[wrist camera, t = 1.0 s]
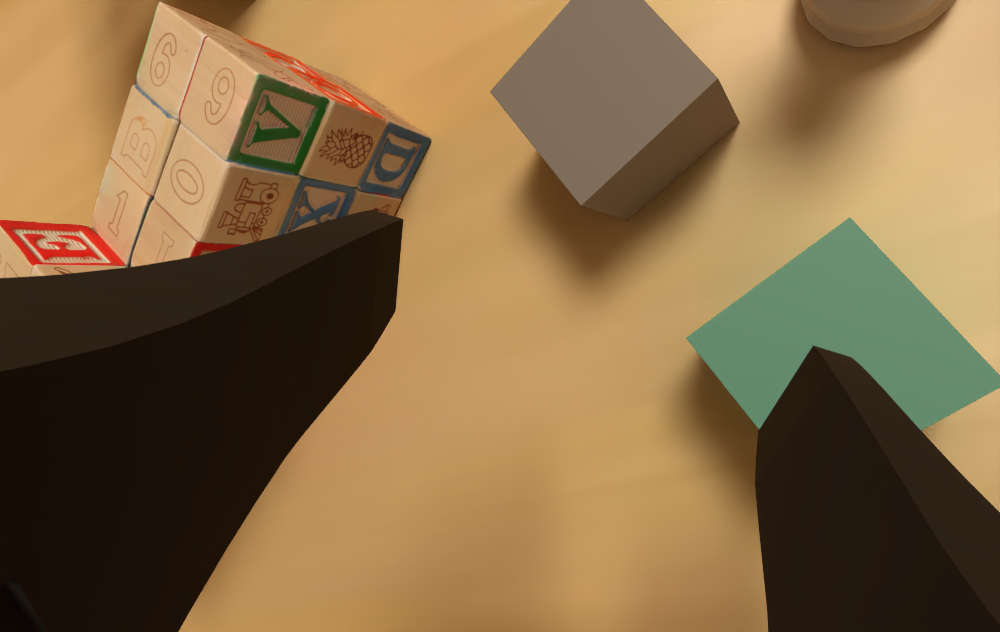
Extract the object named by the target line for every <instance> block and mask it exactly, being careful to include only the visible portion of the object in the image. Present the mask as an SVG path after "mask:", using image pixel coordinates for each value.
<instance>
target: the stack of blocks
mask: <svg viewBox="0 0 1000 632" xmlns="http://www.w3.org/2000/svg"><path fill="white" fill-rule="evenodd" d="M430 141H431V138H430V137H429V136H427V135H426V134H424V133H423V132H421V131H420V130H418V129H417V128H415V127H414V126H412V125H411V124H409V123H408V122H407V121H405V120H404V119H402V118H401V117H399V116H398V115H396V114H395V113H393V112H392V111H391V110H389V109H387V108H386V107H385V106H384V105H382V104H381V103H380V102H378V101H377V100H376V99H374V98H373V97H371V96H370V95H368V94H367V93H365V92H364V91H362V90H361V89H359V88H358V87H356V86H354V85H353V84H351V83H349V82H347V81H345V80H343V79H341V78H339V77H337V76H335V75H332V74H330V73H327V72H325V71H322V70H319V69H317V68H314V67H312V66H309V65H306V64H303V63H301V62H300V61H299V60H297V59H295V58H293V57H290V56H287V55H285V54H283V53H280V52H278V51H275V50H272V49H270V48H267V47H265V46H263V45H260V44H258V43H255V42H253V41H250V40H247V39H244V38H241V37H240V36H238V35H237V34H235V33H233V32H231V31H229V30H226V29H224V28H222V27H219V26H217V25H214V24H212V23H210V22H207V21H205V20H203V19H200V18H198V17H196V16H194V15H191V14H189V13H187V12H184V11H182V10H179V9H177V8H175V7H172V6H170V5H167V4H165V3H162V2H159V3H158V6H157V8H156V11H155V15H154V19H153V23H152V26H151V29H150V32H149V35H148V39H147V42H146V46H145V49H144V52H143V56H142V59H141V62H140V65H139V68H138V71H137V83H136V84H134V85H133V86H132V87H131V89H130V93H129V96H128V99H127V102H126V106H125V109H124V112H123V116H122V119H121V122H120V125H119V129H118V132H117V135H116V138H115V141H114V145H113V148H112V153H111V159H110V160H109V162H108V164H107V166H106V170H105V173H104V177H103V180H102V184H101V187H100V191H99V194H98V198H97V201H96V205H95V208H94V211H93V226H94V227H93V228H89V227H87V226H83V225H73V224H51V223H37V222H24V221H9V220H0V278H13V277H30V276H47V275H60V274H70V273H79V272H89V271H98V270H107V269H117V268H126V267H134V266H141V265H148V264H154V263H160V262H166V261H172V260H178V259H183V258H188V257H193V256H198V255H203V254H208V253H212V252H217V251H221V250H225V249H229V248H233V247H237V246H240V245H244V244H248V243H252V242H256V241H260V240H264V239H268V238H272V237H275V236H279V235H282V234H286V233H289V232H292V231H296V230H299V229H302V228H306V227H309V226H313V225H316V224H319V223H323V222H326V221H329V220H333V219H336V218H339V217H343V216H346V215H350V214H354V213H358V212H362V211H367V210H375V211H378V212H381V213H385V214H388V215H391V216H394V214H395V212H396V210H397V208H398V206H399V204H400V202H401V199H402V197H403V195H404V194H405V192H406V190H407V188H408V186H409V184H410V182H411V180H412V178H413V176H414V174H415V172H416V170H417V168H418V166H419V164H420V162H421V160H422V158H423V156H424V153H425V152H426V150H427V148H428V146H429V143H430Z"/></svg>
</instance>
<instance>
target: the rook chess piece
mask: <svg viewBox="0 0 1000 632" xmlns="http://www.w3.org/2000/svg"><path fill="white" fill-rule="evenodd" d="M800 1H801V4H802V7H803V9H804V12H805V15H806V18H807V20H808V22H809V23H810V24H811V25H812V26H813V27H815V28H816V29H817V30H818V31H819V32H820V33H821V34H823V35H824V36H825V37H826V38H827V39H828V40H832V41H835V42H839V43H843V44H846V45H850V46H854V47H866V46H875V45H885V44H892V43H894V42H896V41H899V40H901V39H903V38H905V37H907V36H910V35H912V34H914V33H916V32H919V31H921V30H923V29H925V28H926V27H928V26H929V25H930V24H931V23H932V22H933V21H934V20H936V19H937V18H938V17H939V16H940V15H941V14H942V13H943V12H945V11H946V10H947V9H948V8H949V7H950V6H951V5H953V4H954V3H955V1H956V0H800Z"/></svg>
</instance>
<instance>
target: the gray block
mask: <svg viewBox="0 0 1000 632" xmlns="http://www.w3.org/2000/svg"><path fill="white" fill-rule="evenodd" d="M490 92H491V94H492V95H493V96H494V97H495V99H496V100H497V101H498V102H499V104H500V105H501V106H502V107H503V109H504V110H505V111H506V113H507V114H508V115H509V116H510V118H511V119H512V120H513V121H514V123H515V124H516V125H517V126H518V128H519V129H520V130H521V131H522V133H523V134H524V135H525V136H526V138H527V139H528V140H529V141H530V143H531V144H532V145H533V146H534V148H535V149H536V150H537V151H538V153H539V154H540V155H541V156H542V158H543V159H544V160H545V162H546V163H547V164H548V165H549V167H550V168H551V169H552V170H553V172H554V173H555V174H556V175H557V177H558V178H559V179H560V180H561V182H562V183H563V184H564V185H565V187H566V188H567V189H568V190H569V192H570V193H571V194H572V195H573V197H574V198H575V199H576V200H577V202H578V203H579V204H580V205H581V206H583V207H586V208H589V209H592V210H595V211H598V212H601V213H604V214H607V215H610V216H613V217H616V218H620V219H623V220H626V221H628V220H629V219H630V218H631V217H632V216H634V215H635V214H636V213H637V212H638V211H639V210H640V209H642V208H643V207H644V206H645V205H646V204H647V203H648V202H650V201H651V200H652V199H653V198H654V197H655V196H656V195H658V194H659V193H660V192H661V191H662V190H663V189H664V188H665V187H667V186H668V185H669V184H670V183H671V182H672V181H673V180H675V179H676V178H677V177H678V176H679V175H680V174H681V173H683V172H684V171H685V170H686V169H687V168H688V167H689V166H691V165H692V164H693V163H694V162H695V161H696V160H697V159H699V158H700V157H701V156H702V155H703V154H704V153H705V152H706V151H708V150H709V149H710V148H711V147H712V146H713V145H714V144H716V143H717V142H718V141H719V140H720V139H721V138H722V137H724V136H725V135H726V134H727V133H728V132H729V131H730V130H732V129H733V128H734V127H735V126H736V125H737V124H738V123H739V120H738V118H737V116H736V114H735V112H734V110H733V108H732V106H731V104H730V102H729V100H728V98H727V96H726V94H725V92H724V90H723V88H722V86H721V84H720V82H719V79H718V78H717V77H716V76H715V75H714V74H713V73H712V72H711V70H710V69H709V68H708V67H707V66H706V65H705V64H704V63H703V62H702V61H701V60H700V59H699V58H698V57H697V56H696V55H695V54H694V53H693V52H692V50H691V49H690V48H689V47H688V46H687V45H686V44H685V43H684V42H683V41H682V40H681V39H680V38H679V37H678V36H677V35H676V34H675V33H674V31H673V30H672V29H671V28H670V27H669V26H668V25H667V24H666V23H665V22H664V21H663V20H662V19H661V18H660V17H659V16H658V15H657V14H656V12H655V11H654V10H653V9H652V8H651V7H650V6H649V5H648V4H647V3H646V2H645V1H644V0H570V2H569V3H568V4H567V5H566V6H565V7H564V8H563V10H562V11H561V12H560V13H559V14H558V15H557V16H556V17H555V19H554V20H553V21H552V22H551V23H550V24H549V25H548V27H547V28H546V29H545V30H544V31H543V32H542V33H541V34H540V36H539V37H538V38H537V39H536V40H535V41H534V42H533V44H532V45H531V46H530V47H529V48H528V49H527V50H526V51H525V53H524V54H523V55H522V56H521V57H520V58H519V59H518V61H517V62H516V63H515V64H514V65H513V66H512V67H511V68H510V70H509V71H508V72H507V73H506V74H505V75H504V76H503V77H502V79H501V80H500V81H499V82H498V83H497V84H496V85H495V87H494V88H493V89H492V90H491V91H490Z"/></svg>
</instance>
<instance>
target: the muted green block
mask: <svg viewBox="0 0 1000 632" xmlns="http://www.w3.org/2000/svg"><path fill="white" fill-rule="evenodd" d="M686 339H687V340H688V341H689V342H690V344H691V345H692V346H693V347H694V349H695V350H696V351H697V352H698V354H699V355H700V356H701V357H702V359H703V360H704V361H705V362H706V364H707V365H708V366H709V367H710V369H711V370H712V371H713V372H714V374H715V375H716V376H717V377H718V379H719V380H720V381H721V382H722V384H723V385H724V386H725V388H726V389H727V390H728V391H729V393H730V394H731V395H732V396H733V398H734V399H735V400H736V401H737V403H738V404H739V405H740V406H741V408H742V409H743V410H744V411H745V413H746V414H747V415H748V416H749V418H750V419H751V420H752V421H753V423H754V424H755V425H756V426H757V428H758V429H760V428H761V426H762V425H763V423H764V421H765V420H766V418H767V417H768V415H769V414H770V412H771V410H772V409H773V407H774V406H775V404H776V403H777V401H778V400H779V398H780V396H781V395H782V393H783V392H784V390H785V389H786V387H787V385H788V384H789V382H790V381H791V379H792V378H793V376H794V374H795V373H796V371H797V370H798V368H799V367H800V365H801V363H802V362H803V360H804V359H805V357H806V356H807V354H808V353H809V351H810V349H811V348H812V346H817V347H820V348H823V349H826V350H830V351H833V352H836V353H839V354H843V355H846V356H849V357H852V358H853V359H854V360H855V361H857V362H858V363H859V364H860V365H861V366H862V367H863V368H864V369H865V370H866V371H867V372H868V373H869V374H870V375H871V376H872V377H873V378H874V379H875V380H876V381H877V383H878V384H879V385H880V386H881V387H882V388H883V389H884V390H885V391H886V392H887V393H888V395H889V396H890V397H891V398H892V399H893V400H894V401H895V402H896V403H897V405H898V406H899V407H900V408H901V409H902V410H903V411H904V412H905V413H906V415H907V416H908V417H909V418H910V419H911V420H912V421H913V422H914V423H915V425H916V426H917V427H918V428H919V429H920V430H923V429H925V428H927V427H929V426H930V425H932V424H934V423H936V422H938V421H940V420H941V419H943V418H945V417H947V416H949V415H951V414H952V413H954V412H956V411H958V410H960V409H961V408H963V407H965V406H967V405H969V404H971V403H972V402H974V401H976V400H978V399H980V398H982V397H983V396H985V395H987V394H989V393H991V392H993V391H994V390H996V389H998V388H1000V375H999V374H998V373H997V372H996V371H995V370H994V369H993V368H992V367H991V366H990V365H989V364H988V363H987V362H986V360H985V359H984V358H983V357H982V356H981V355H980V354H979V353H978V352H977V351H976V350H975V349H974V348H973V347H972V346H971V345H970V344H969V343H968V341H967V340H966V339H965V338H964V337H963V336H962V335H961V334H960V333H959V332H958V331H957V330H956V329H955V328H954V327H953V326H952V325H951V324H950V322H949V321H948V320H947V319H946V318H945V317H944V316H943V315H942V314H941V313H940V312H939V311H938V310H937V309H936V308H935V307H934V306H933V305H932V303H931V302H930V301H929V300H928V299H927V298H926V297H925V296H924V295H923V294H922V293H921V292H920V291H919V290H918V289H917V288H916V287H915V286H914V284H913V283H912V282H911V281H910V280H909V279H908V278H907V277H906V276H905V275H904V274H903V273H902V272H901V271H900V270H899V269H898V268H897V267H896V266H895V264H894V263H893V262H892V261H891V260H890V259H889V258H888V257H887V256H886V255H885V254H884V253H883V252H882V251H881V250H880V249H879V248H878V247H877V245H876V244H875V243H874V242H873V241H872V240H871V239H870V238H869V237H868V236H867V235H866V234H865V233H864V232H863V231H862V230H861V229H860V228H859V226H858V225H857V224H856V223H855V222H854V221H853V220H852V219H851V218H848V219H847V220H846V221H844V222H843V223H842V224H840V225H839V226H837V227H836V228H835V229H833V230H832V231H831V232H829V233H828V234H827V235H825V236H824V237H822V238H821V239H820V240H818V241H817V242H816V243H814V244H813V245H812V246H810V247H809V248H808V249H806V250H805V251H803V252H802V253H801V254H799V255H798V256H797V257H795V258H794V259H793V260H791V261H790V262H788V263H787V264H786V265H784V266H783V267H782V268H780V269H779V270H778V271H776V272H775V273H774V274H772V275H771V276H769V277H768V278H767V279H765V280H764V281H763V282H761V283H760V284H759V285H757V286H756V287H754V288H753V289H752V290H750V291H749V292H748V293H746V294H745V295H744V296H742V297H741V298H740V299H738V300H737V301H735V302H734V303H733V304H731V305H730V306H729V307H727V308H726V309H725V310H723V311H722V312H721V313H719V314H718V315H716V316H715V317H714V318H712V319H711V320H710V321H708V322H707V323H706V324H704V325H703V326H701V327H700V328H699V329H697V330H696V331H695V332H693V333H692V334H691V335H689V336H688V337H687V338H686Z"/></svg>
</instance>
